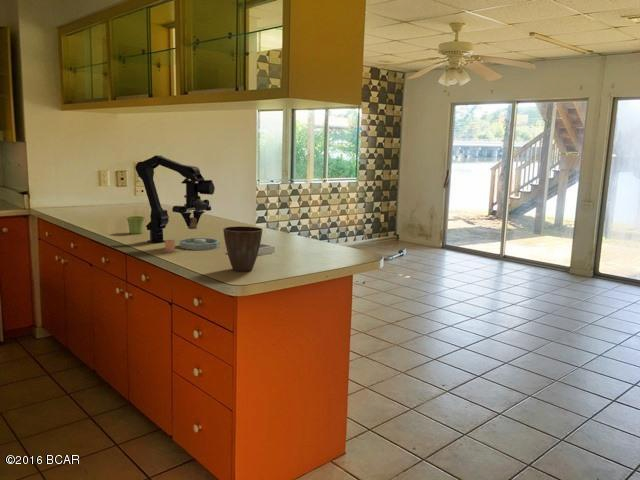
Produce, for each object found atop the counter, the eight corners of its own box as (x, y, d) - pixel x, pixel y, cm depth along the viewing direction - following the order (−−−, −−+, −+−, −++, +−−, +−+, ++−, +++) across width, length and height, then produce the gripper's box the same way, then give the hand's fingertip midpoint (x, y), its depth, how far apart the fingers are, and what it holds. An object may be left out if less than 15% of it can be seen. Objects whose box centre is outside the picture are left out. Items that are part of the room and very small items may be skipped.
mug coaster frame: (228, 252, 240) (228, 245, 240) (253, 248, 253) (253, 241, 252) (249, 257, 232) (249, 250, 231) (275, 252, 244) (275, 246, 243)
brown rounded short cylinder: (186, 228, 254) (186, 217, 253) (193, 227, 257) (193, 217, 256) (191, 229, 252) (191, 218, 251) (198, 228, 255) (198, 218, 254)
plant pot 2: (217, 267, 210) (217, 226, 207) (253, 264, 217) (253, 225, 214) (230, 275, 197) (231, 232, 194) (267, 272, 204) (268, 230, 202)
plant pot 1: (122, 233, 280) (122, 217, 279) (133, 231, 289) (132, 215, 288) (138, 235, 278) (138, 218, 277) (148, 232, 287) (148, 216, 286)
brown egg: (163, 251, 237) (163, 240, 236) (171, 250, 240) (171, 239, 239) (168, 252, 235) (168, 241, 234) (176, 251, 238) (176, 240, 237)
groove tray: (172, 245, 251) (172, 239, 251) (202, 241, 265) (202, 235, 264) (196, 251, 240) (196, 244, 240) (226, 246, 254) (226, 240, 253)
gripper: (186, 195, 240) (186, 230, 242) (218, 194, 254) (218, 226, 257) (171, 193, 247) (171, 227, 249) (203, 192, 261) (203, 223, 264)
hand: (192, 226), depth 254 cm, fingers closed on brown rounded short cylinder, 4 cm apart
